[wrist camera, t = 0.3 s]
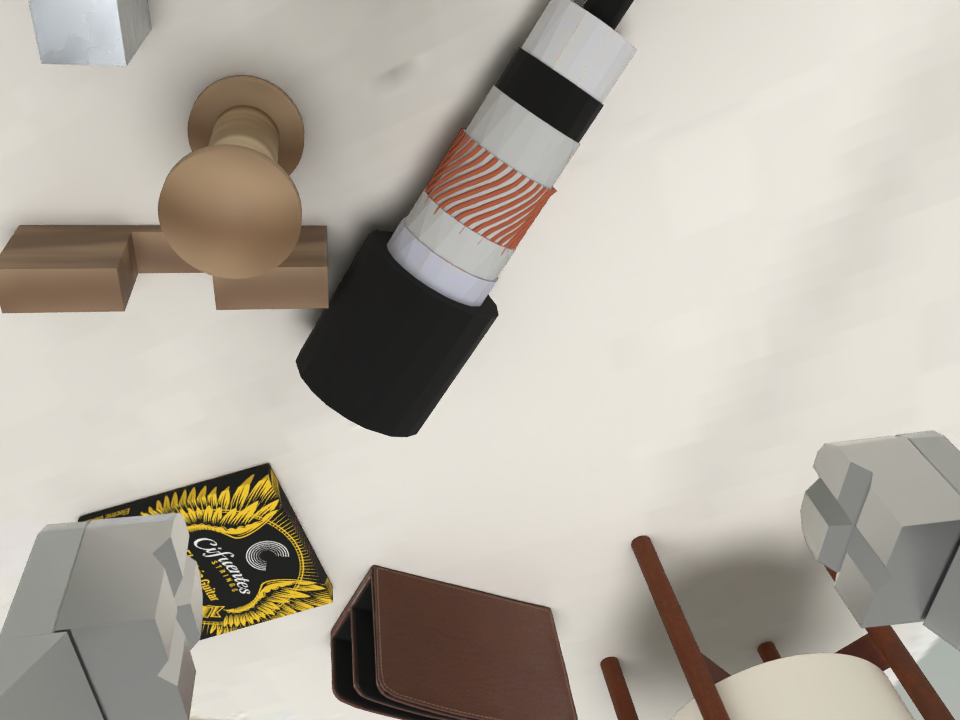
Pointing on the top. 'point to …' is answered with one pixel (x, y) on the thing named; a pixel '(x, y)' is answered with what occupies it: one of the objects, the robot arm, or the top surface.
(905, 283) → the top surface
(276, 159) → the bobbin
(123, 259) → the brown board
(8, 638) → the robot arm
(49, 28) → the block
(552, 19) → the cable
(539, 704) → the letter holder
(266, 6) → the top surface
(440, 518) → the top surface
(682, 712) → the plant pot with stand
